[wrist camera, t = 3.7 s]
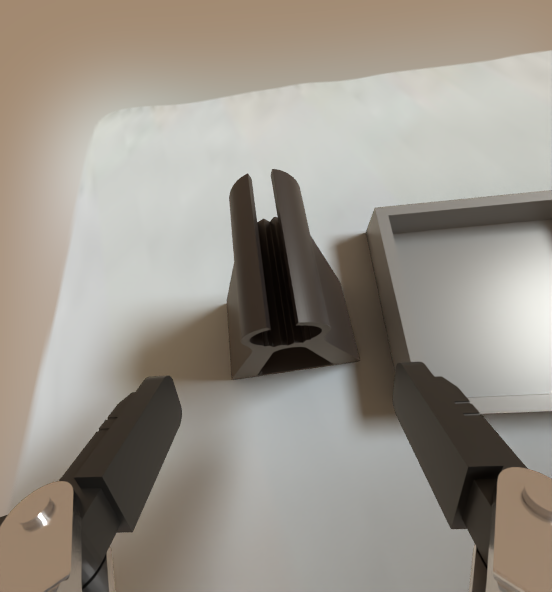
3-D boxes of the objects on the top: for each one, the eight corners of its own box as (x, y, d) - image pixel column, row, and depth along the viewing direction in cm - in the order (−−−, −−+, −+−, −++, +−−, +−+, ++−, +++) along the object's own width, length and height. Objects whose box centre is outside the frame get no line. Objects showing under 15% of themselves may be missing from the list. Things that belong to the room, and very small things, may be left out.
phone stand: (232, 379, 19) (128, 348, 8) (228, 302, 21) (143, 191, 10) (358, 362, 18) (443, 302, 7) (340, 284, 21) (382, 148, 9)
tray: (570, 212, 21) (611, 184, 18) (680, 402, 16) (761, 402, 13) (365, 232, 22) (374, 207, 19) (403, 413, 17) (423, 416, 14)
